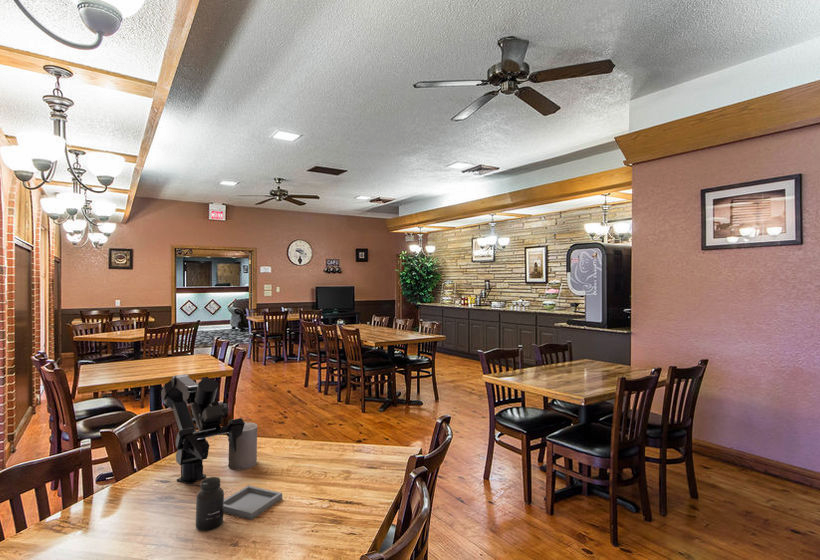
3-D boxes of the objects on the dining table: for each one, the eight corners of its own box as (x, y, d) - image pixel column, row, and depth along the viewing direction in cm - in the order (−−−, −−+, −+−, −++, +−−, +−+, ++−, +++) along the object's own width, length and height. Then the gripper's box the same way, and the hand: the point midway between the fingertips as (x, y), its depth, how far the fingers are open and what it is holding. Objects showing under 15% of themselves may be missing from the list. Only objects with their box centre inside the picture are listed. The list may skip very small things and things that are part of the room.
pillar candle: (222, 467, 158) (222, 424, 158) (242, 457, 167) (242, 417, 167) (243, 472, 155) (244, 428, 155) (262, 461, 164) (263, 420, 164)
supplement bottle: (213, 533, 117) (213, 487, 117) (189, 530, 118) (190, 484, 118) (228, 520, 123) (229, 476, 123) (206, 517, 125) (207, 474, 125)
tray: (215, 510, 128) (216, 504, 128) (248, 491, 140) (248, 485, 140) (251, 519, 123) (251, 513, 123) (282, 498, 135) (282, 493, 135)
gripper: (176, 401, 130) (189, 443, 120) (240, 391, 143) (257, 428, 133) (170, 428, 135) (182, 471, 125) (232, 416, 147) (248, 454, 137)
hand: (219, 455), depth 130 cm, fingers open, 9 cm apart
